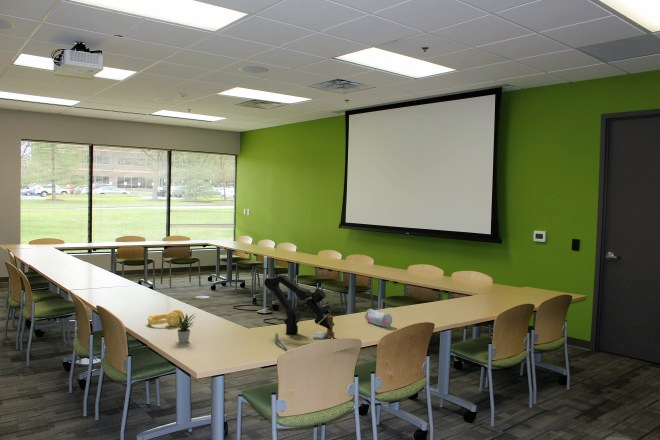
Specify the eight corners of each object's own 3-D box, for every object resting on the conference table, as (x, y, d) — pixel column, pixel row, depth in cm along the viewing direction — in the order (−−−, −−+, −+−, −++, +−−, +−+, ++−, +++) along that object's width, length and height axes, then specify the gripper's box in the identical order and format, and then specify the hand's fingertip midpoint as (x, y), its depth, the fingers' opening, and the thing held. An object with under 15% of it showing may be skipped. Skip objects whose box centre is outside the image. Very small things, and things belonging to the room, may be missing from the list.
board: (313, 338, 304) (313, 336, 304) (315, 333, 317) (315, 331, 317) (323, 339, 304) (323, 337, 304) (325, 333, 317) (325, 331, 316)
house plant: (203, 339, 298) (203, 310, 298) (191, 345, 285) (192, 315, 284) (180, 337, 302) (181, 309, 301) (168, 343, 288) (168, 314, 288)
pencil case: (363, 322, 351) (364, 308, 351) (374, 321, 356) (374, 307, 355) (382, 328, 333) (382, 314, 333) (393, 327, 338) (393, 313, 338)
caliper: (274, 344, 292) (274, 332, 292) (276, 343, 293) (276, 332, 293) (289, 353, 274) (289, 341, 274) (291, 353, 275) (291, 341, 275)
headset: (153, 320, 342) (153, 306, 342) (185, 322, 342) (185, 308, 342) (143, 327, 324) (144, 312, 324) (177, 328, 324) (177, 314, 324)
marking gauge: (325, 339, 304) (325, 317, 303) (325, 336, 309) (326, 315, 309) (333, 339, 303) (334, 317, 303) (334, 337, 309) (334, 315, 309)
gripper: (320, 301, 298) (338, 321, 296) (327, 295, 316) (344, 315, 314) (306, 313, 300) (325, 334, 298) (314, 307, 318) (332, 327, 316)
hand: (332, 327), depth 306 cm, fingers open, 9 cm apart
